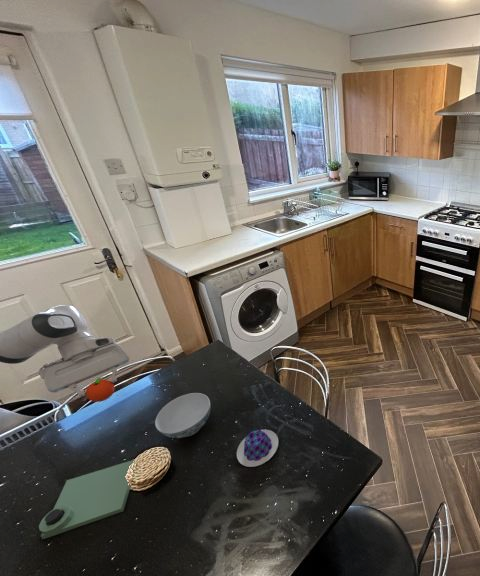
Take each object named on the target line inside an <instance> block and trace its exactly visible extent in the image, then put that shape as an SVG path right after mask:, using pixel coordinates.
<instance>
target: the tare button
mask: <svg viewBox="0 0 480 576" xmlns="http://www.w3.org/2000/svg"><path fill="white" fill-rule="evenodd" d="M52 510H53V509H52ZM52 510H51V512H50V511H49V512H50V513H49V512H48V513H49V514H48V513H47V514H48V515H47V514H46V515H47V516H46V515H45V516H46V518H45V521H46V522H47V523H48V524H49V525H53V524H55V523H57V522H58V521H60V520H61V518H62V517H63V515H64V514H63V512H62V511H61V510H60V509H55V510H53V511H52Z"/></svg>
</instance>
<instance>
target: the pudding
mask: <svg viewBox="0 0 480 576" xmlns="http://www.w3.org/2000/svg"><path fill="white" fill-rule="evenodd" d="M278 448H279V437H278V435H277V433H275V432H274V431H272V430H270V429H257V430H253V431H251V432H249V434H247V435H246V436H245V437H244V438H243V439H242V440H241V441H240V443H239V445H238V447H237V449H236V459H237V461H238V463H239V464H241V465H242V466H244V467H249V468H251V467H253V468H254V467H258V466H261V465H263V464H265V463H266V462H268V461H270V459H271V458H272V457H274V455H275V454H276V452H277V450H278Z"/></svg>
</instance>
